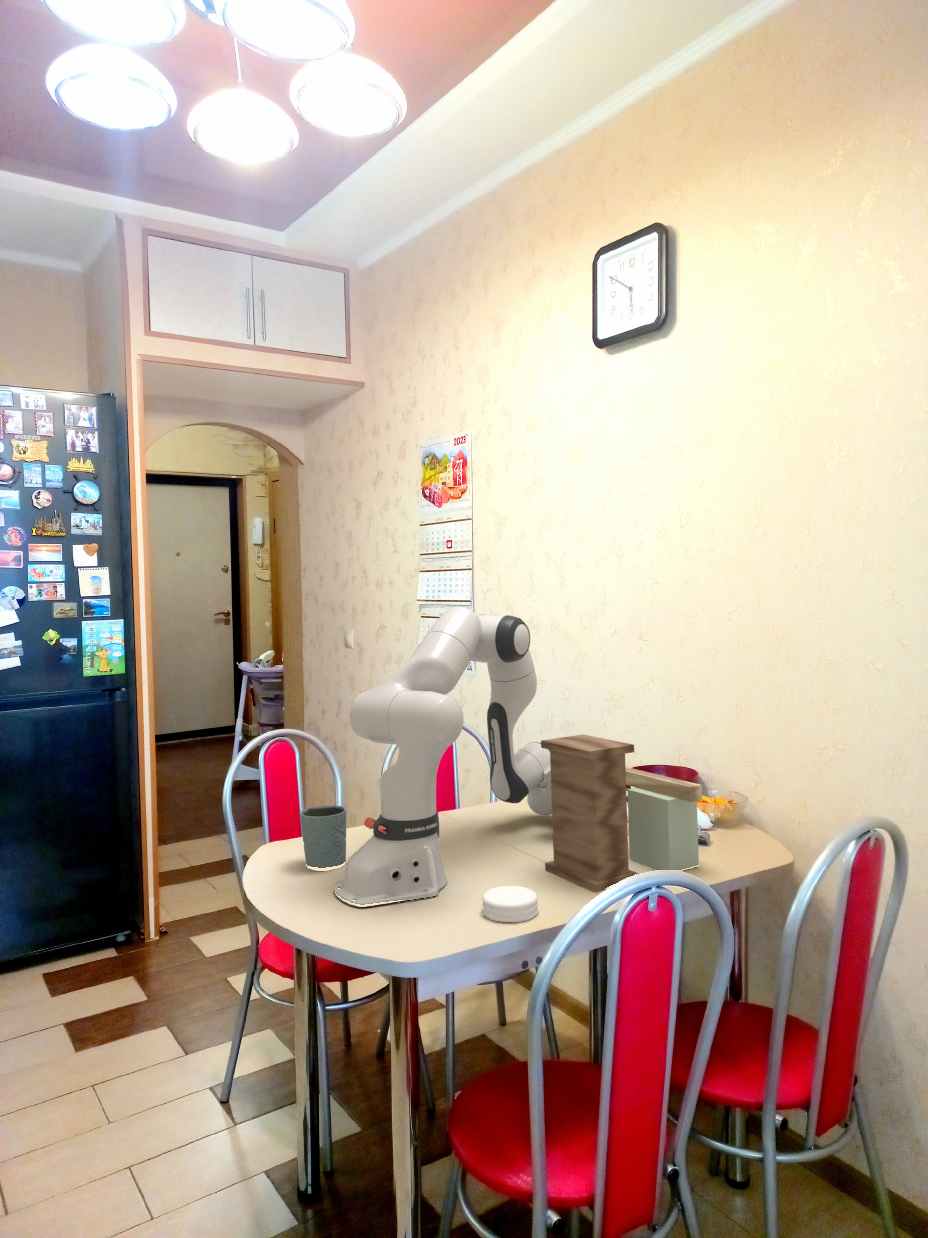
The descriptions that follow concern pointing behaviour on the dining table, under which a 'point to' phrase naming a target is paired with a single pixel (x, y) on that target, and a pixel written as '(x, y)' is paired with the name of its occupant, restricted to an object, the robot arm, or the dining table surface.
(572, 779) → the walnut pedestal
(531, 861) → the dining table surface
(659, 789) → the maple rod
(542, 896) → the dining table surface
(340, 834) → the grey-green cup
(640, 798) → the sage-green block
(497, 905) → the coaster
